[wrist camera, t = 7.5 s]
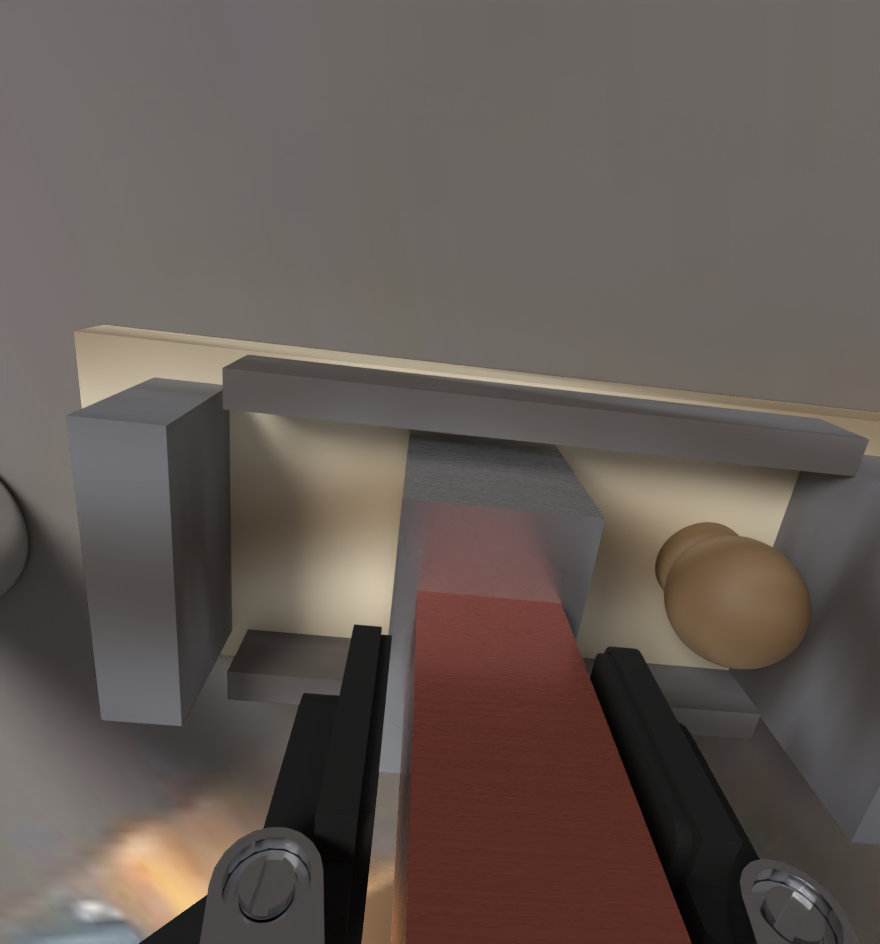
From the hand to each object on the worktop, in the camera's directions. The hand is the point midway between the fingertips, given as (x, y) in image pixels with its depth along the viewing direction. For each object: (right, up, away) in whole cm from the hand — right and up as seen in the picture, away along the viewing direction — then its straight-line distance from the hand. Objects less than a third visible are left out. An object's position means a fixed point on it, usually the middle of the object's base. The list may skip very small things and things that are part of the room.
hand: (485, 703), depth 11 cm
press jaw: (0, +2, +6) cm, 6 cm away
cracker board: (+2, +3, +8) cm, 9 cm away
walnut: (+7, +2, +7) cm, 10 cm away
